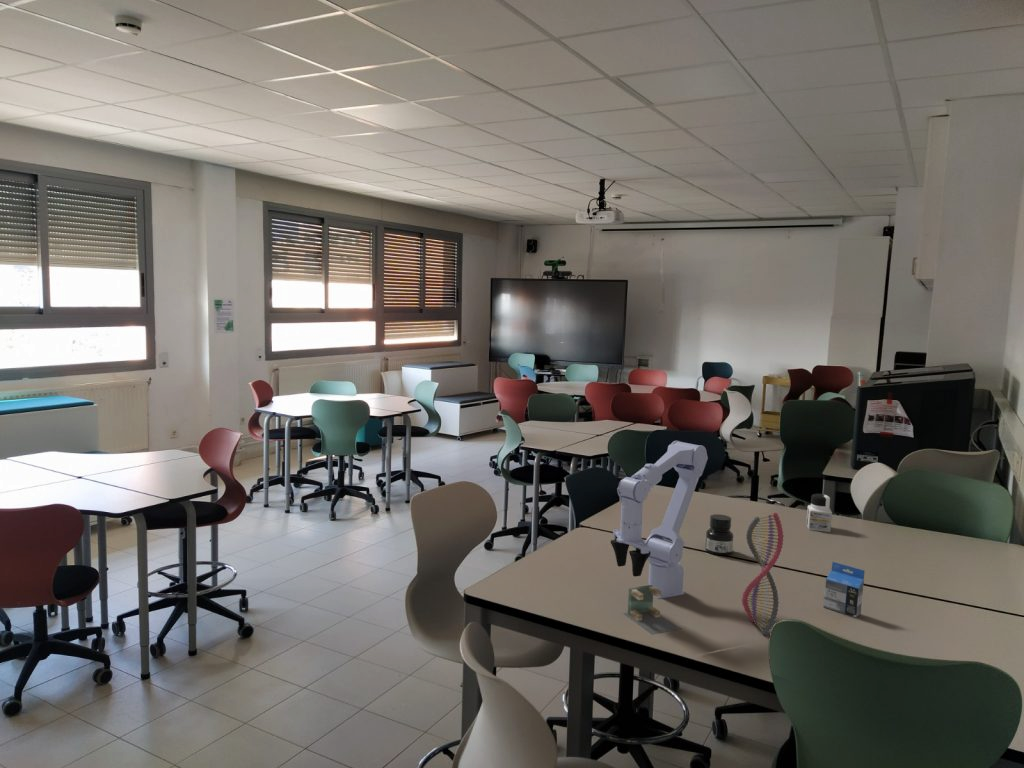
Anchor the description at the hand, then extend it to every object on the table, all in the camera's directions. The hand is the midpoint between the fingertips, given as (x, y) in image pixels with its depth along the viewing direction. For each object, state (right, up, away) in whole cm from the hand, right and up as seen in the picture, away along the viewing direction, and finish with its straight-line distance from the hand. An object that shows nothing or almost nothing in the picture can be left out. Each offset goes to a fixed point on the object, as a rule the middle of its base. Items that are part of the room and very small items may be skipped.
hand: (629, 570), depth 192 cm
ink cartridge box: (+59, -12, +2) cm, 60 cm away
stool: (+3, -10, -6) cm, 12 cm away
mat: (+4, -11, -9) cm, 15 cm away
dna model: (+32, -12, -10) cm, 35 cm away
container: (+85, -4, +77) cm, 115 cm away
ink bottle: (+38, -6, +47) cm, 61 cm away
